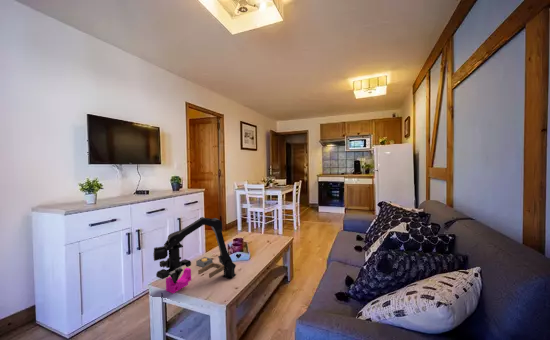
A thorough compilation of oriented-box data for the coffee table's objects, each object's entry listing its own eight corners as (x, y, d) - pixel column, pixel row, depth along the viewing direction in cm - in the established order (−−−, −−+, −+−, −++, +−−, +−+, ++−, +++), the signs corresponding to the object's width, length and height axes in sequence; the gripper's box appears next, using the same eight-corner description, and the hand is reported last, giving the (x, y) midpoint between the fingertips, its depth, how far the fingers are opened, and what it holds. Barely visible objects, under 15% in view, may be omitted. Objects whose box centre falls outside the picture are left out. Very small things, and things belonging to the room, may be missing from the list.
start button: (208, 262, 164) (208, 258, 164) (204, 264, 161) (204, 260, 161) (204, 261, 166) (204, 257, 166) (200, 263, 163) (200, 259, 163)
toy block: (173, 293, 126) (173, 280, 126) (166, 291, 129) (165, 278, 129) (194, 281, 140) (193, 269, 140) (187, 279, 143) (186, 267, 142)
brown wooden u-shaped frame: (224, 268, 156) (224, 265, 155) (210, 277, 144) (210, 273, 144) (213, 265, 161) (212, 262, 161) (198, 273, 149) (198, 270, 149)
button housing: (212, 263, 165) (212, 258, 165) (204, 267, 158) (204, 263, 158) (204, 261, 169) (204, 256, 169) (196, 265, 162) (196, 260, 162)
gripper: (178, 248, 139) (179, 273, 139) (149, 259, 123) (150, 287, 123) (191, 251, 134) (192, 277, 134) (162, 263, 117) (163, 292, 118)
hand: (175, 283), depth 127 cm, fingers closed
